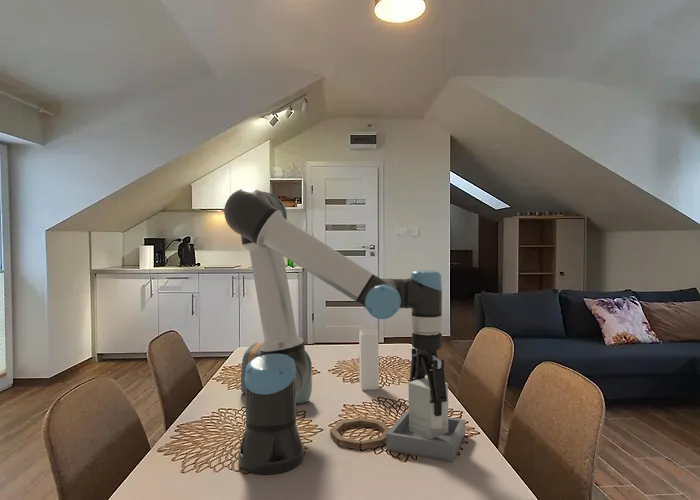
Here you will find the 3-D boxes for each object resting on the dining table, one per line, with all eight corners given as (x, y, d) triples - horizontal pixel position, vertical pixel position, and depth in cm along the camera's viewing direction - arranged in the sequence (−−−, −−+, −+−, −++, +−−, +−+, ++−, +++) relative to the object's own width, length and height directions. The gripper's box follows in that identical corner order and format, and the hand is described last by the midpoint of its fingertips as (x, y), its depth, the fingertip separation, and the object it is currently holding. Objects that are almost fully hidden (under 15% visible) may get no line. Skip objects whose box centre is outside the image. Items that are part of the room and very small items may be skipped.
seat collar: (377, 452, 112) (377, 446, 112) (322, 442, 118) (322, 436, 118) (396, 429, 126) (396, 423, 126) (346, 420, 132) (346, 415, 132)
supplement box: (449, 432, 117) (449, 382, 117) (429, 440, 113) (429, 389, 112) (427, 423, 123) (427, 376, 123) (407, 430, 119) (407, 381, 118)
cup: (308, 406, 143) (307, 374, 143) (284, 405, 145) (283, 373, 144) (314, 398, 151) (314, 367, 150) (292, 396, 152) (291, 366, 152)
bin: (452, 462, 107) (452, 445, 107) (386, 449, 114) (386, 433, 114) (465, 434, 122) (465, 419, 122) (405, 425, 129) (405, 410, 128)
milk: (378, 389, 159) (378, 325, 158) (361, 390, 158) (361, 326, 158) (376, 383, 165) (376, 322, 164) (359, 384, 165) (359, 322, 164)
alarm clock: (251, 380, 170) (250, 337, 170) (295, 380, 170) (295, 337, 169) (239, 395, 154) (238, 348, 153) (288, 395, 153) (287, 348, 153)
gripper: (462, 339, 108) (462, 435, 108) (421, 323, 129) (422, 404, 129) (432, 342, 106) (433, 440, 106) (396, 325, 127) (397, 407, 127)
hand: (427, 420), depth 118 cm, fingers closed on supplement box, 9 cm apart
